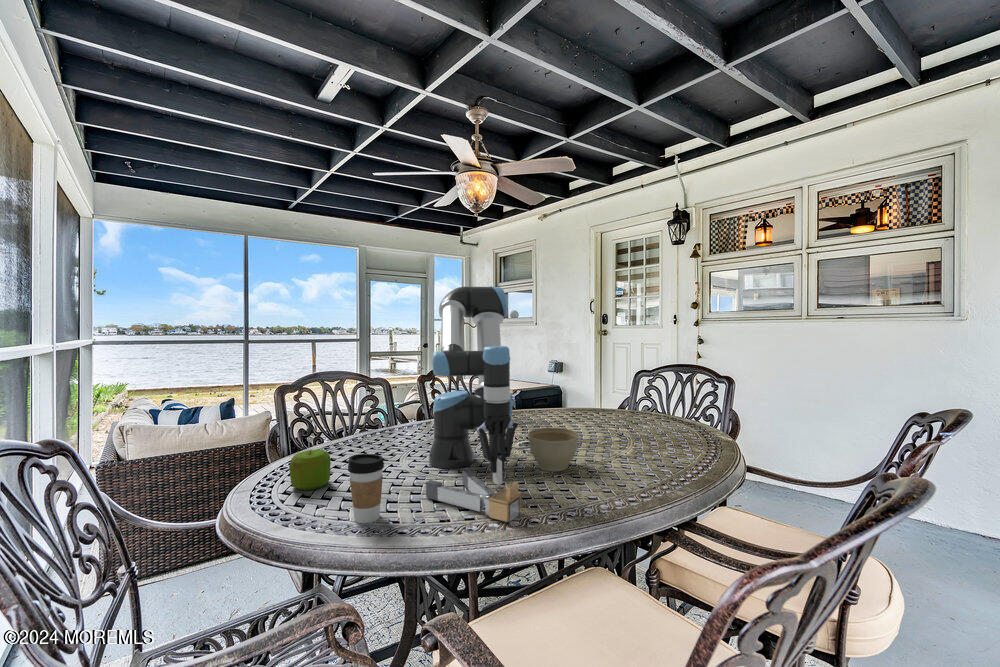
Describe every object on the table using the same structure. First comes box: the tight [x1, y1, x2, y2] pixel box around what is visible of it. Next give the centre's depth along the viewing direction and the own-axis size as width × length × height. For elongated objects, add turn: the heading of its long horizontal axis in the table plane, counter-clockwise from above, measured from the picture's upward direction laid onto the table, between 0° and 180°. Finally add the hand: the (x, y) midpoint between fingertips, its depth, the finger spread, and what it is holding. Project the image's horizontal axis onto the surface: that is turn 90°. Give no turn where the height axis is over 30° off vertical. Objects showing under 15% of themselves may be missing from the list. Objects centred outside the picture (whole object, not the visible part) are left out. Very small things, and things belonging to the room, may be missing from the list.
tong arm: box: [462, 468, 496, 505], centre depth 120 cm, size 17×2×4 cm, turn 27°
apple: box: [288, 448, 332, 491], centre depth 128 cm, size 11×11×11 cm
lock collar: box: [488, 481, 522, 523], centre depth 108 cm, size 5×7×8 cm
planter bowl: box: [527, 427, 579, 472], centre depth 143 cm, size 16×16×11 cm
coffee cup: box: [347, 453, 385, 524], centre depth 107 cm, size 8×8×15 cm
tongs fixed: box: [425, 479, 520, 522], centre depth 114 cm, size 26×4×5 cm, turn 59°
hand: (497, 482), depth 126 cm, fingers closed
